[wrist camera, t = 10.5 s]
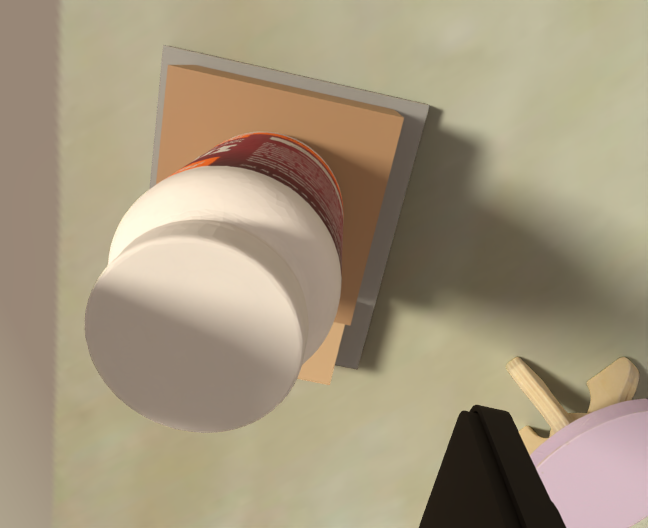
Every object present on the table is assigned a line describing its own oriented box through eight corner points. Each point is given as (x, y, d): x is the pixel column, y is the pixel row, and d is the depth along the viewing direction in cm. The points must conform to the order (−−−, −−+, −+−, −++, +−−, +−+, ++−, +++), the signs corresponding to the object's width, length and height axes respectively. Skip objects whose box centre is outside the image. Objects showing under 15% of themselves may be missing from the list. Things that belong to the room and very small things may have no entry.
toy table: (515, 496, 32) (550, 582, 27) (442, 392, 30) (464, 464, 25) (670, 425, 30) (741, 503, 25) (605, 306, 28) (668, 364, 22)
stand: (168, 45, 24) (128, 41, 19) (426, 104, 24) (446, 112, 20) (142, 318, 29) (104, 365, 24) (356, 361, 29) (360, 415, 25)
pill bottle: (236, 96, 20) (120, 130, 9) (373, 183, 21) (403, 299, 10) (164, 230, 22) (3, 379, 11) (293, 304, 23) (251, 501, 12)
